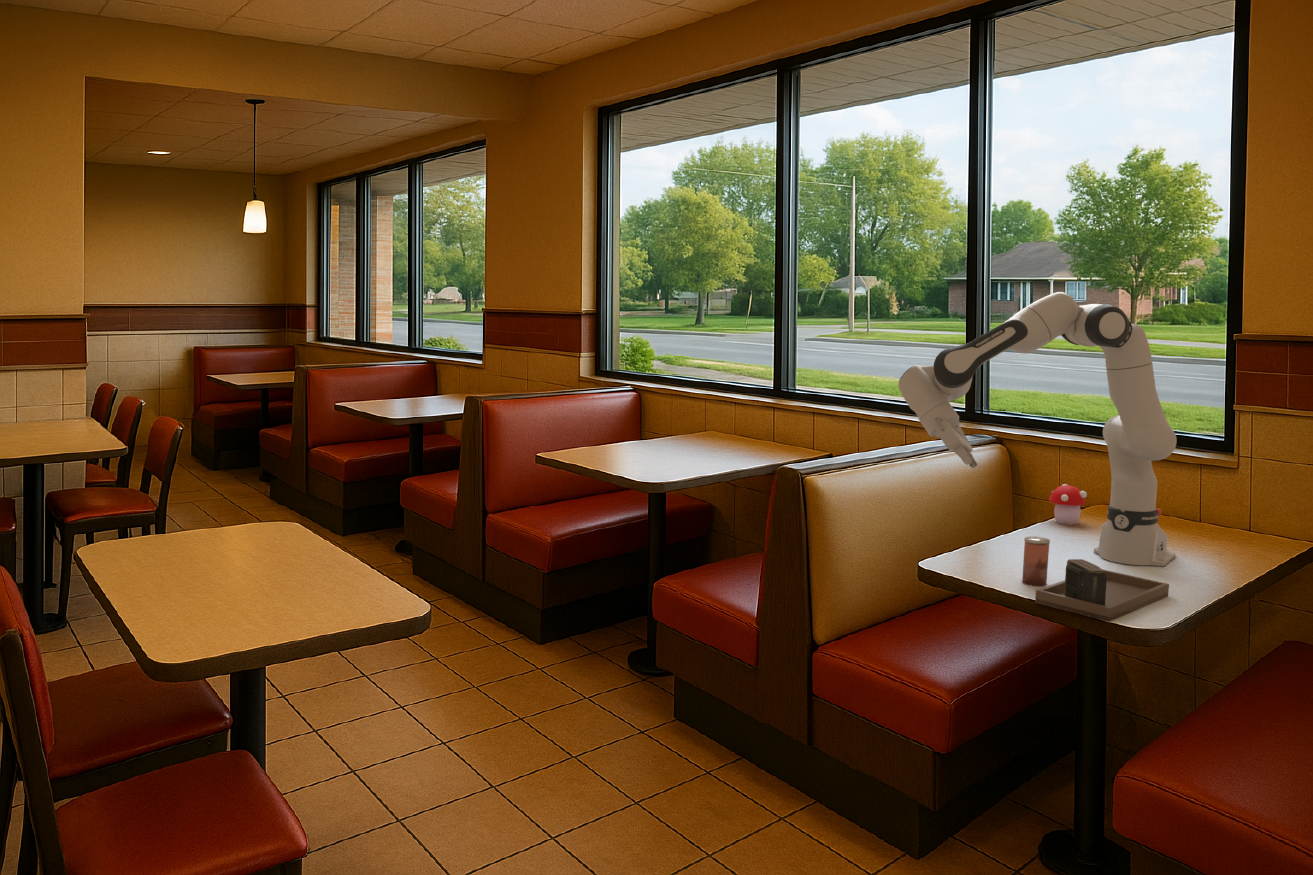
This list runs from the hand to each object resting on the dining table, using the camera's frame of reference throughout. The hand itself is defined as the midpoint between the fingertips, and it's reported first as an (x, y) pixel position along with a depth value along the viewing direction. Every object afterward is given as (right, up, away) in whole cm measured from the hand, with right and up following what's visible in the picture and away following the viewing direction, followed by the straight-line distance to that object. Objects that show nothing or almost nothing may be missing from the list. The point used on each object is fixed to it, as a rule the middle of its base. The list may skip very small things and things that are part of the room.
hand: (972, 465), depth 247 cm
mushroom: (+49, -20, +60) cm, 81 cm away
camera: (+17, -32, -26) cm, 44 cm away
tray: (+24, -31, -20) cm, 44 cm away
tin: (+13, -29, -7) cm, 32 cm away
